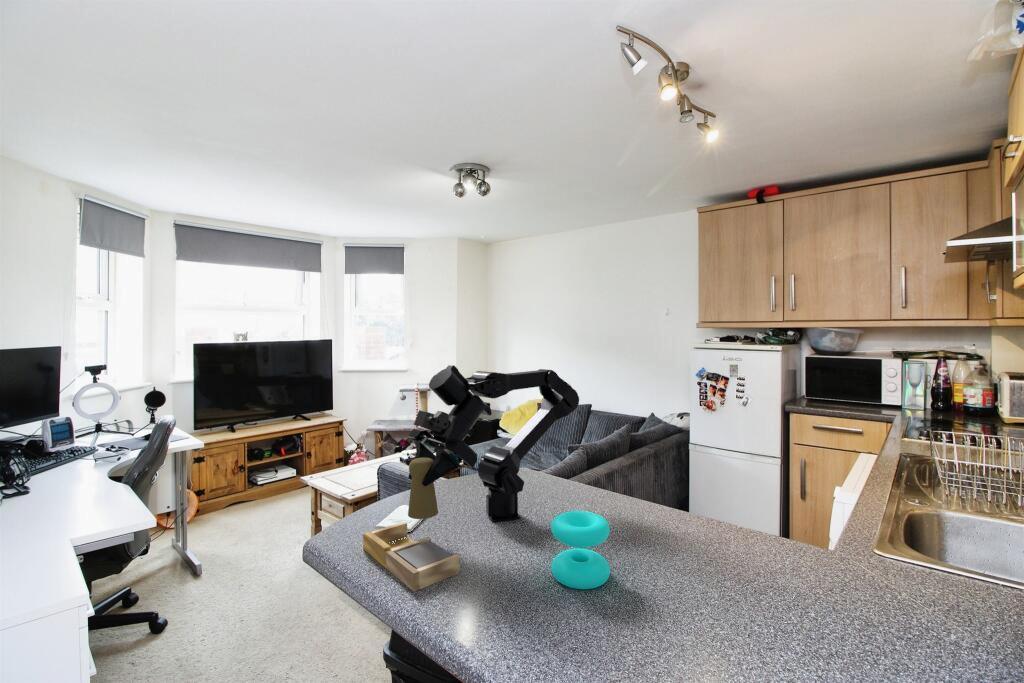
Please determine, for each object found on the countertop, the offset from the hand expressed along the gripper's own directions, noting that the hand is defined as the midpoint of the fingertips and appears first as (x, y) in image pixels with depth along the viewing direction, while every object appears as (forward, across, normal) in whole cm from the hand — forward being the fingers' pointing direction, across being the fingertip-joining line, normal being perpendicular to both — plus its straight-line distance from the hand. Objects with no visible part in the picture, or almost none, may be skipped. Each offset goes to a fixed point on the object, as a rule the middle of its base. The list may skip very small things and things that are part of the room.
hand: (416, 482), depth 93 cm
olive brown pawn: (+4, 0, +6) cm, 7 cm away
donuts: (-1, +30, +20) cm, 36 cm away
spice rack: (+12, +5, +6) cm, 14 cm away
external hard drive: (+7, -13, +12) cm, 19 cm away
